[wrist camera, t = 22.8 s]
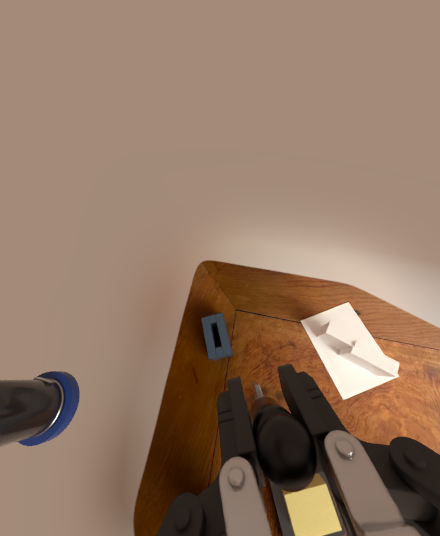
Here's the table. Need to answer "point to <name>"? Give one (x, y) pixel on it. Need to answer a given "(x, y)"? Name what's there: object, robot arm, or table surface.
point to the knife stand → (210, 338)
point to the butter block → (312, 510)
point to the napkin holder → (349, 351)
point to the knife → (282, 444)
